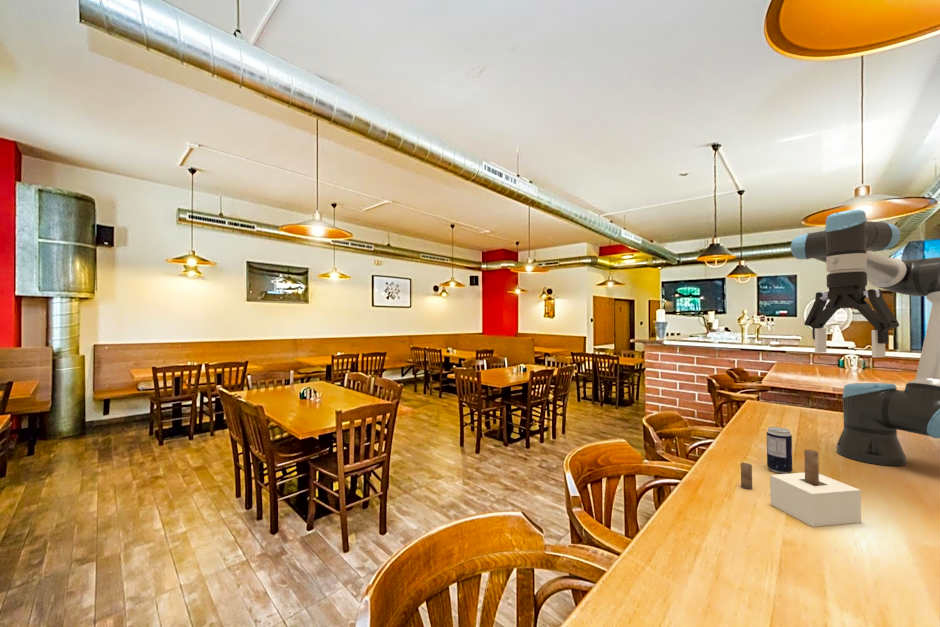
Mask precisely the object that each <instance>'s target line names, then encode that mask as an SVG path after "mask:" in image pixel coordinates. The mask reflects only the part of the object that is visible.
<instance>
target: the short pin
mask: <svg viewBox="0 0 940 627" xmlns="http://www.w3.org/2000/svg"><path fill="white" fill-rule="evenodd" d="M740 487H741V488H742V489H745V490H753V465H752V464H750V463H747V462H741V463H740Z"/></svg>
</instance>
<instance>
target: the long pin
mask: <svg viewBox="0 0 940 627" xmlns="http://www.w3.org/2000/svg"><path fill="white" fill-rule="evenodd" d="M803 451H804V452H803V453H804V455H803V456H804V472H805V482H806V483H808V484H811V485H813V486H819V474H820V473H819V472H820V471H819V470H820V468H819V467H820V466H819V460H820V459H819V451H818V450H817V451H816V450H812V449H804V450H803Z"/></svg>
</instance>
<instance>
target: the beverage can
mask: <svg viewBox="0 0 940 627" xmlns="http://www.w3.org/2000/svg"><path fill="white" fill-rule="evenodd" d="M766 466H767V467H768V469H769V470H771V472H774V473H777V474H790V473H791V472H793V437H792V434H791V430H790V429H788V428H785V427H784V428H783V427H778V426H769V427H768V429H767V431H766Z"/></svg>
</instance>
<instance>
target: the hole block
mask: <svg viewBox="0 0 940 627" xmlns="http://www.w3.org/2000/svg"><path fill="white" fill-rule="evenodd" d="M769 476H770V477H769V478H770V479H769V482H770V483H769V487H770V493H769V494H770V505H771V506H773V507H774V508H777V509H779V510H781V511H782V512H784V513H786V514H787V515H790V516H791V517H793V518H795V519H797V520H799V521H800V522H803V523H805V524H807V525H808V526H810V527H812V528H815V527H827V526H837V525H848V524H858V523H859V524H860V523H862V496H861V495H862V494H861V493H862V490H861V489H859V488H856V487H854V486H851V485H849V484H846V483H844V482H841V481H839V480H836V479H834V478H831V477H828V476H826V475H823V474H822V473H819V486H813V485H811V484H808V483H806V482H805V471H804V472H793V473H791V472H790V473H788V474H780V473H777V474H770V475H769Z"/></svg>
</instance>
